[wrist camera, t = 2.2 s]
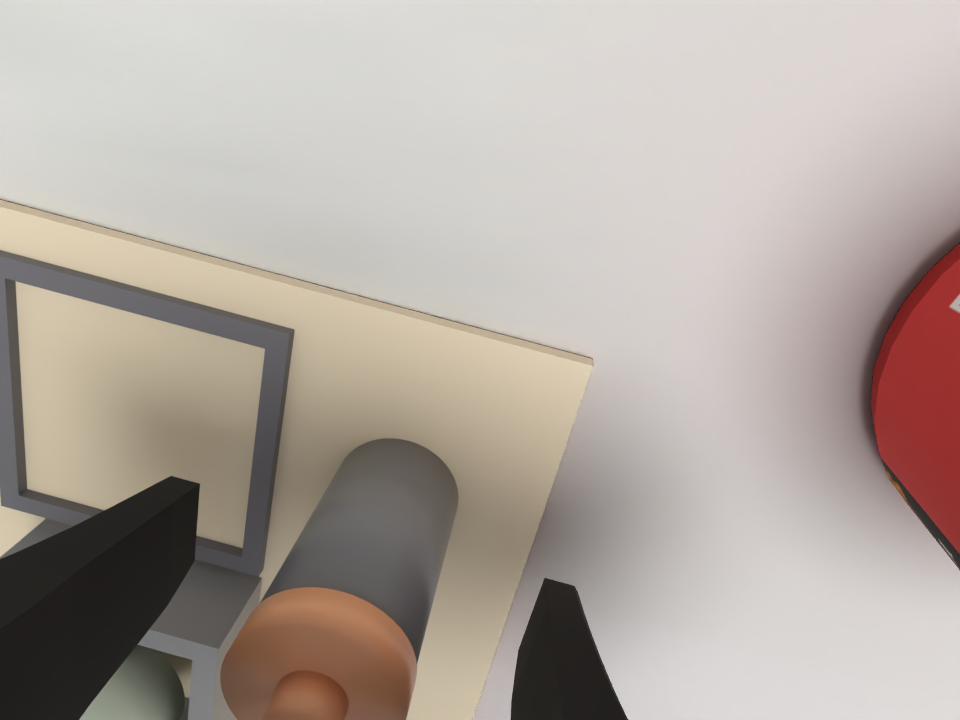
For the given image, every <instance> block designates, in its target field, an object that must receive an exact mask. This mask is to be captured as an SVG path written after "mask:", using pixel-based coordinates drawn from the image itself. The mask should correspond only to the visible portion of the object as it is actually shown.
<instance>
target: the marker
mask: <svg viewBox="0 0 960 720" xmlns="http://www.w3.org/2000/svg"><path fill="white" fill-rule="evenodd" d="M457 506H458V488H457V485H456V481H455V479H454V477H453V475H452V473H451V471H450V470H449V468H448V467H447V465H446V464H445V463H444V462H443V461H442V460H441V459H440V458H439V457H438V456H437V455H436V454H434V453H433V452H432V451H430V450H428V449H427V448H425V447H423V446H421V445H419V444H417V443H414V442H411V441H407V440H403V439H395V438H383V439H376V440H373V441H369V442H367V443H364V444H362V445H360V446H358V447H357V448H355V449H354V450H353V451H352V452H350V453H349V454H348V456H347V457H346V458H345V459H344V461H343V462H342V464H341V466H340V467H339V469H338V471H337V472H336V474H335V476H334V478H333V479H332V481H331V483H330V484H329V486H328V488H327V489H326V491H325V493H324V495H323V496H322V498H321V500H320V501H319V503H318V505H317V506H316V508H315V510H314V512H313V513H312V515H311V517H310V518H309V520H308V522H307V524H306V525H305V527H304V529H303V530H302V532H301V534H300V535H299V537H298V539H297V541H296V542H295V544H294V546H293V547H292V549H291V551H290V552H289V554H288V556H287V558H286V559H285V561H284V563H283V564H282V566H281V568H280V570H279V571H278V573H277V575H276V576H275V578H274V580H273V581H272V583H271V585H270V587H269V588H268V590H267V592H266V593H265V595H264V597H263V598H262V600H261V602H260V604H258V605H257V606H256V607H255V609H254V610H253V611H252V612H251V614H250V615H249V617H248V618H247V620H246V622H245V623H244V625H243V627H242V628H241V630H240V632H239V633H238V635H237V637H236V638H235V640H234V642H233V644H232V645H231V647H230V649H229V650H228V652H227V654H226V655H225V658H224V660H223V663H222V666H221V671H220V683H221V689H222V693H223V696H224V699H225V701H226V703H227V705H228V707H229V709H230V710H231V712H232V713H233V715H234V716H235V717H236V719H237V720H406V718H407V714H408V710H409V706H410V702H411V698H412V694H413V690H414V686H415V682H416V677H417V663H418V659H419V655H420V651H421V647H422V643H423V639H424V636H425V632H426V628H427V624H428V620H429V616H430V612H431V608H432V604H433V600H434V597H435V593H436V589H437V585H438V581H439V577H440V573H441V569H442V565H443V561H444V558H445V554H446V550H447V546H448V542H449V538H450V534H451V530H452V526H453V522H454V519H455V515H456V511H457Z"/></svg>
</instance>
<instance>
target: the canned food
mask: <svg viewBox="0 0 960 720" xmlns="http://www.w3.org/2000/svg"><path fill="white" fill-rule="evenodd" d="M870 400H871V408H872V416H873V425H874V431H875V436H876V441H877V446H878V451H879V454H880V456H881V459H882V461H883V464H884V466H885V469H886V471H887V474H888V476H889V479H890V481H891V482H892V483H893V485H894V486H895V487H896V489H897V490H898V492H899V493H900V494H901V496H902V497H903V498H904V500H905V501H906V502H907V504H908V505H909V506H910V508H911V509H912V510H913V511H914V513H915V514H916V515H917V516H918V518H919V519H920V520H921V522H922V523H923V524H924V525H925V527H926V528H927V529H928V530H929V532H930V533H931V534H932V535H933V537H934V538H935V539H936V540H937V542H938V543H939V544H940V545H941V547H942V548H943V549H944V551H945V552H946V553H947V554H948V556H949V557H950V558H951V559H952V561H953V562H954V563H955V564H956V566H957V567H958V568H959V569H960V243H959V244H958V245H957V246H956V247H954V248H953V249H952V250H951V251H950V252H949V253H948V254H947V255H946V256H945V257H943V258H942V259H941V260H940V261H939V262H938V263H937V264H936V265H935V266H933V267H932V268H931V269H930V270H929V271H928V273H927V274H926V275H925V276H924V278H923V279H922V280H921V281H920V282H919V284H918V285H917V286H916V287H915V289H914V290H913V291H912V292H911V294H910V295H909V296H908V297H907V298H906V300H905V301H904V302H903V304H902V306H901V308H900V309H899V311H898V313H897V315H896V317H895V318H894V320H893V322H892V324H891V325H890V327H889V329H888V331H887V332H886V334H885V337H884V340H883V343H882V346H881V349H880V352H879V355H878V358H877V360H876V363H875V366H874V373H873V381H872V390H871V398H870Z"/></svg>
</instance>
